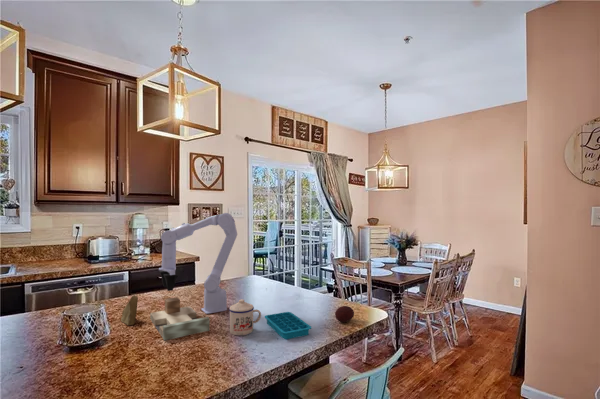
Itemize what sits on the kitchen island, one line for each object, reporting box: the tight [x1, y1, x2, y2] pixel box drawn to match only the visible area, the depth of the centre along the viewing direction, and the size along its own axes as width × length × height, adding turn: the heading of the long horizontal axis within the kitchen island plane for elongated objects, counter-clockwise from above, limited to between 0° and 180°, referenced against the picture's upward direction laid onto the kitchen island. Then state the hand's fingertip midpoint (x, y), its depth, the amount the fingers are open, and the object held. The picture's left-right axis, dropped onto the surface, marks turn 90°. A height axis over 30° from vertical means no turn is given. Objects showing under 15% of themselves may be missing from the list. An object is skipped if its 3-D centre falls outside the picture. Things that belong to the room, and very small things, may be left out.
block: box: [164, 296, 181, 314], centre depth 135 cm, size 5×5×5 cm
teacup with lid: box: [228, 298, 262, 336], centre depth 121 cm, size 12×9×12 cm
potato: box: [334, 305, 355, 323], centre depth 130 cm, size 8×9×6 cm
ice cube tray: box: [264, 311, 312, 340], centre depth 123 cm, size 12×20×3 cm, turn 26°
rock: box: [120, 294, 139, 326], centre depth 130 cm, size 11×9×10 cm
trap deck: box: [149, 305, 210, 341], centre depth 127 cm, size 16×26×4 cm, turn 35°
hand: (168, 288), depth 141 cm, fingers open, 7 cm apart
